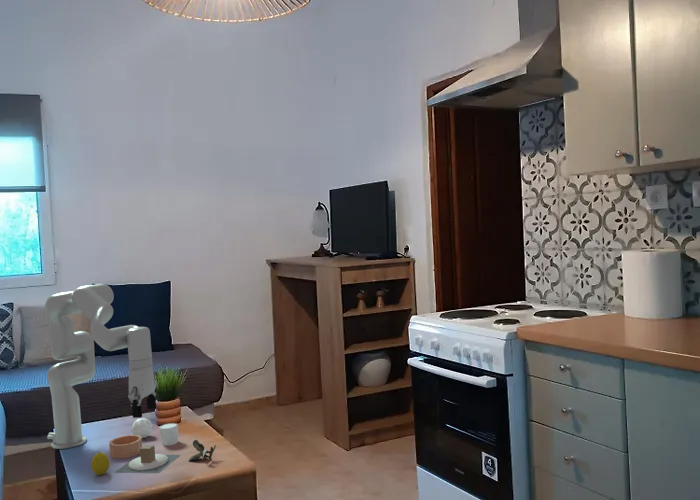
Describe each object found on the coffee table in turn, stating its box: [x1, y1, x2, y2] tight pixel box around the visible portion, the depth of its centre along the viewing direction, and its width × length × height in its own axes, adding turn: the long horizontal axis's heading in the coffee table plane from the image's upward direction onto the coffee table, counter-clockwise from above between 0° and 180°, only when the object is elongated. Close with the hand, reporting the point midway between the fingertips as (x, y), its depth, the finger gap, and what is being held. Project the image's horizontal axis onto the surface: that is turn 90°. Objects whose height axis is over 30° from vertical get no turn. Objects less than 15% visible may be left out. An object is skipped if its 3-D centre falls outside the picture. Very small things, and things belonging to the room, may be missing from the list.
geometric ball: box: [130, 417, 153, 439], centre depth 249 cm, size 8×8×8 cm
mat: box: [114, 454, 181, 474], centre depth 219 cm, size 16×16×1 cm
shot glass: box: [158, 422, 179, 446], centre depth 239 cm, size 7×7×7 cm
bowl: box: [108, 434, 143, 459], centre depth 231 cm, size 11×11×5 cm
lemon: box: [91, 451, 110, 476], centre depth 211 cm, size 6×6×8 cm
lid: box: [128, 444, 168, 471], centre depth 219 cm, size 13×13×6 cm
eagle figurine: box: [188, 439, 217, 463], centre depth 220 cm, size 8×7×9 cm
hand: (144, 413), depth 218 cm, fingers open, 9 cm apart
